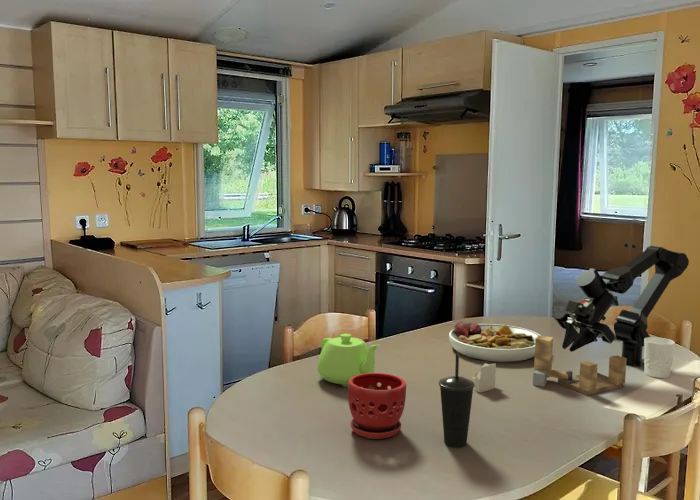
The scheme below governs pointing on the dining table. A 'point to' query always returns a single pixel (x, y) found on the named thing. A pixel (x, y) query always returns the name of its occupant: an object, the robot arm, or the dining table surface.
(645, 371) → the white cup
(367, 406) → the plant pot
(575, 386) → the stool seat
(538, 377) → the block
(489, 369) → the architectural model
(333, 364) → the teapot
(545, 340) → the folding leg
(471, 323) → the bowl
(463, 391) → the drinking cup
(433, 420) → the dining table surface
